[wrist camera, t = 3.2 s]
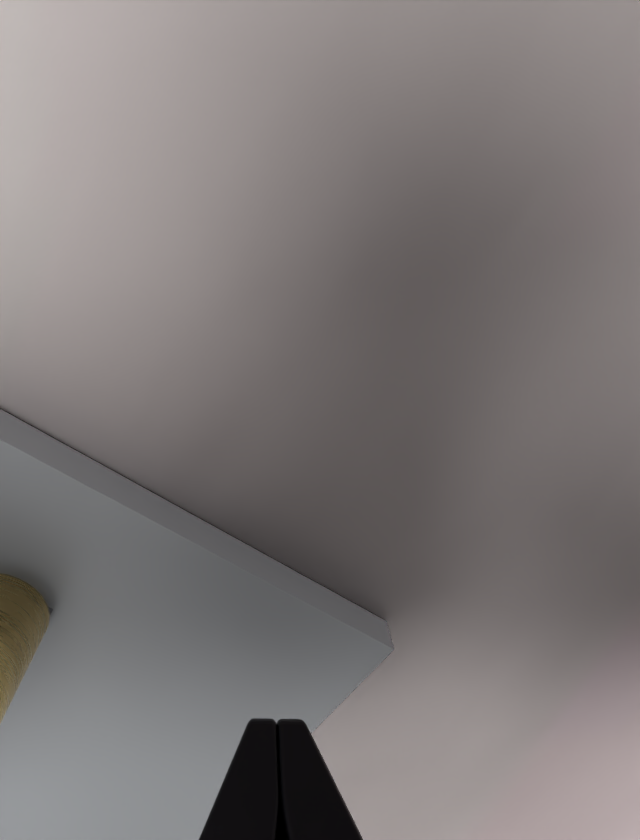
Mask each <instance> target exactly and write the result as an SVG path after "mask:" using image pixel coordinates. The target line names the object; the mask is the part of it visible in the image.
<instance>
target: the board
mask: <svg viewBox="0 0 640 840" xmlns="http://www.w3.org/2000/svg"><path fill="white" fill-rule="evenodd" d="M0 573H3V574H7V575H11V576H14V577H17V578H19V579H21V580H23V581H25V582H27V583H28V584H30V585H31V586H33V587H34V588H35V589H36V590H37V591H38V592H39V593H40V594H41V595H42V597H43V598H44V599H45V601H46V603H47V605H48V607H50V608H52V609H53V611H52V613H51V615H50V621H49V625H48V628H47V630H46V632H45V634H44V636H43V638H42V640H41V642H40V644H39V646H38V648H37V650H36V652H35V655H34V657H33V659H32V661H31V663H30V665H29V667H28V669H27V671H26V673H25V675H24V677H23V679H22V681H21V683H20V685H19V687H18V689H17V691H16V693H15V695H14V697H13V699H12V701H11V703H10V705H9V707H8V709H7V711H6V713H5V716H4V718H3V720H2V722H1V724H0V840H199V838H200V835H201V833H202V830H203V828H204V826H205V823H206V821H207V819H208V816H209V814H210V811H211V809H212V807H213V804H214V802H215V799H216V797H217V795H218V792H219V790H220V788H221V785H222V783H223V780H224V778H225V776H226V773H227V771H228V768H229V766H230V764H231V761H232V759H233V757H234V754H235V752H236V749H237V747H238V745H239V742H240V740H241V737H242V735H243V733H244V730H245V728H246V726H247V723H248V722H249V720H251V719H253V718H269V719H274V720H275V721H276V723H277V721H278V720H279V719H302V720H303V721H304V722H305V723H306V725H307V727H308V729H309V731H310V733H312V732H313V731H314V730H315V729H316V728H317V727H318V726H319V725H320V724H321V723H322V722H323V721H324V720H325V719H326V718H327V717H328V716H329V715H330V714H331V713H332V712H333V711H334V710H335V709H336V708H337V707H338V706H339V705H340V704H341V703H342V702H343V701H344V700H345V699H346V698H347V697H348V696H349V695H350V694H351V693H352V692H353V691H354V690H355V689H356V688H357V687H358V685H359V684H360V683H361V682H362V681H363V680H364V679H365V678H366V677H367V676H368V675H369V674H370V673H371V672H372V671H373V670H374V669H375V668H376V667H377V666H378V665H379V664H380V663H381V662H382V661H383V660H384V659H385V658H386V657H387V656H388V655H389V654H390V653H391V652H392V651H393V650H394V646H393V643H392V639H391V635H390V631H389V628H388V624H387V621H385V620H383V619H381V618H380V617H378V616H376V615H374V614H372V613H371V612H369V611H367V610H365V609H363V608H361V607H360V606H358V605H356V604H354V603H352V602H351V601H349V600H347V599H345V598H343V597H341V596H340V595H338V594H336V593H334V592H332V591H331V590H329V589H327V588H325V587H323V586H321V585H320V584H318V583H316V582H314V581H312V580H311V579H309V578H307V577H305V576H303V575H301V574H300V573H298V572H296V571H294V570H292V569H291V568H289V567H287V566H285V565H283V564H281V563H280V562H278V561H276V560H274V559H272V558H270V557H269V556H267V555H265V554H263V553H261V552H260V551H258V550H256V549H254V548H252V547H250V546H249V545H247V544H245V543H243V542H241V541H240V540H238V539H236V538H234V537H232V536H230V535H229V534H227V533H225V532H223V531H221V530H220V529H218V528H216V527H214V526H212V525H210V524H209V523H207V522H205V521H203V520H201V519H200V518H198V517H196V516H194V515H192V514H190V513H189V512H187V511H185V510H183V509H181V508H180V507H178V506H176V505H174V504H172V503H170V502H169V501H167V500H165V499H163V498H161V497H160V496H158V495H156V494H154V493H152V492H150V491H149V490H147V489H145V488H143V487H141V486H139V485H138V484H136V483H134V482H132V481H130V480H129V479H127V478H125V477H123V476H121V475H119V474H118V473H116V472H114V471H112V470H110V469H109V468H107V467H105V466H103V465H101V464H99V463H98V462H96V461H94V460H92V459H90V458H89V457H87V456H85V455H83V454H81V453H79V452H78V451H76V450H74V449H72V448H70V447H69V446H67V445H65V444H63V443H61V442H59V441H58V440H56V439H54V438H52V437H50V436H49V435H47V434H45V433H43V432H41V431H39V430H38V429H36V428H34V427H32V426H30V425H29V424H27V423H25V422H23V421H21V420H19V419H18V418H16V417H14V416H12V415H10V414H8V413H7V412H5V411H3V410H1V409H0Z"/></svg>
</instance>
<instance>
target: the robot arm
mask: <svg viewBox="0 0 640 840" xmlns="http://www.w3.org/2000/svg"><path fill="white" fill-rule="evenodd" d="M199 840H363V838H362V836H361V834H360V832H359V830H358V828H357V826H356V824H355V822H354V820H353V818H352V816H351V814H350V812H349V810H348V808H347V806H346V804H345V802H344V800H343V798H342V796H341V794H340V792H339V790H338V788H337V786H336V784H335V782H334V780H333V777H332V775H331V773H330V771H329V769H328V767H327V765H326V763H325V761H324V759H323V757H322V755H321V753H320V751H319V749H318V747H317V745H316V743H315V741H314V739H313V737H312V735H311V733H310V731H309V729H308V727H307V725H306V723H305V722H304V721H303V720H302V719H279V720H278V721H277V723H276V721H275V720H274V719H269V718H253V719H251V720H249V722H248V723H247V726H246V728H245V730H244V733H243V735H242V737H241V740H240V742H239V745H238V747H237V749H236V752H235V754H234V757H233V759H232V761H231V764H230V766H229V768H228V771H227V773H226V776H225V778H224V780H223V783H222V785H221V788H220V790H219V792H218V795H217V797H216V799H215V802H214V804H213V807H212V809H211V811H210V814H209V816H208V819H207V821H206V823H205V826H204V828H203V830H202V833H201V835H200V838H199Z"/></svg>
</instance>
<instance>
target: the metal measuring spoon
mask: <svg viewBox="0 0 640 840" xmlns="http://www.w3.org/2000/svg"><path fill="white" fill-rule="evenodd" d="M52 611H53V609H52V608H50V607H48V605H47V603H46V601H45V599H44V598H43V597H42V595H41V594H40V593H39V592H38V591H37V590H36V589H35V588H34V587H33V586H31V585H30V584H28V583H27V582H25V581H23V580H21V579H19V578H17V577H14V576H11V575H7V574H3V573H0V724H1V722H2V720H3V718H4V716H5V713H6V711H7V709H8V707H9V705H10V703H11V701H12V699H13V697H14V695H15V693H16V691H17V689H18V687H19V685H20V683H21V681H22V679H23V677H24V675H25V673H26V671H27V669H28V667H29V665H30V663H31V661H32V659H33V657H34V655H35V652H36V650H37V648H38V646H39V644H40V642H41V640H42V638H43V636H44V634H45V632H46V630H47V628H48V625H49V621H50V615H51V613H52Z"/></svg>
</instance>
